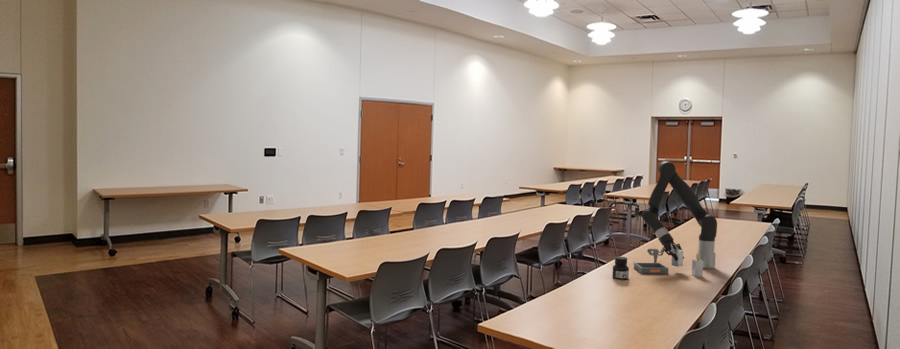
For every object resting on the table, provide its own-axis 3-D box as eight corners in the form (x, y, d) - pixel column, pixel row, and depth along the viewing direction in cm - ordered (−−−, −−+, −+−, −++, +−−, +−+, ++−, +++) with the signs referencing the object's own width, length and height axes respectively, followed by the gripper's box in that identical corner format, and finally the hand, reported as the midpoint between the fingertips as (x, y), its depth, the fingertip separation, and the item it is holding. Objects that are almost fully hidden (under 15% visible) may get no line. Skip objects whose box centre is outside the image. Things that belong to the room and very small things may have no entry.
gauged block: (699, 274, 338) (700, 252, 337) (702, 276, 334) (703, 254, 333) (691, 274, 338) (692, 252, 337) (694, 276, 334) (696, 254, 333)
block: (676, 264, 347) (676, 249, 346) (682, 265, 343) (683, 250, 342) (671, 265, 345) (672, 249, 344) (677, 266, 341) (678, 251, 340)
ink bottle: (617, 280, 322) (617, 259, 321) (608, 276, 331) (609, 256, 330) (632, 279, 325) (632, 259, 324) (623, 275, 333) (624, 255, 333)
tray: (659, 268, 353) (659, 262, 353) (668, 274, 339) (668, 268, 338) (633, 268, 353) (634, 262, 353) (641, 273, 339) (641, 268, 338)
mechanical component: (664, 265, 361) (664, 249, 361) (647, 265, 362) (648, 249, 361) (662, 264, 364) (663, 248, 364) (646, 264, 365) (647, 248, 364)
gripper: (659, 234, 345) (676, 257, 336) (675, 231, 352) (691, 254, 343) (652, 241, 350) (668, 264, 341) (668, 238, 357) (684, 261, 348)
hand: (680, 259), depth 342 cm, fingers closed on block, 4 cm apart
